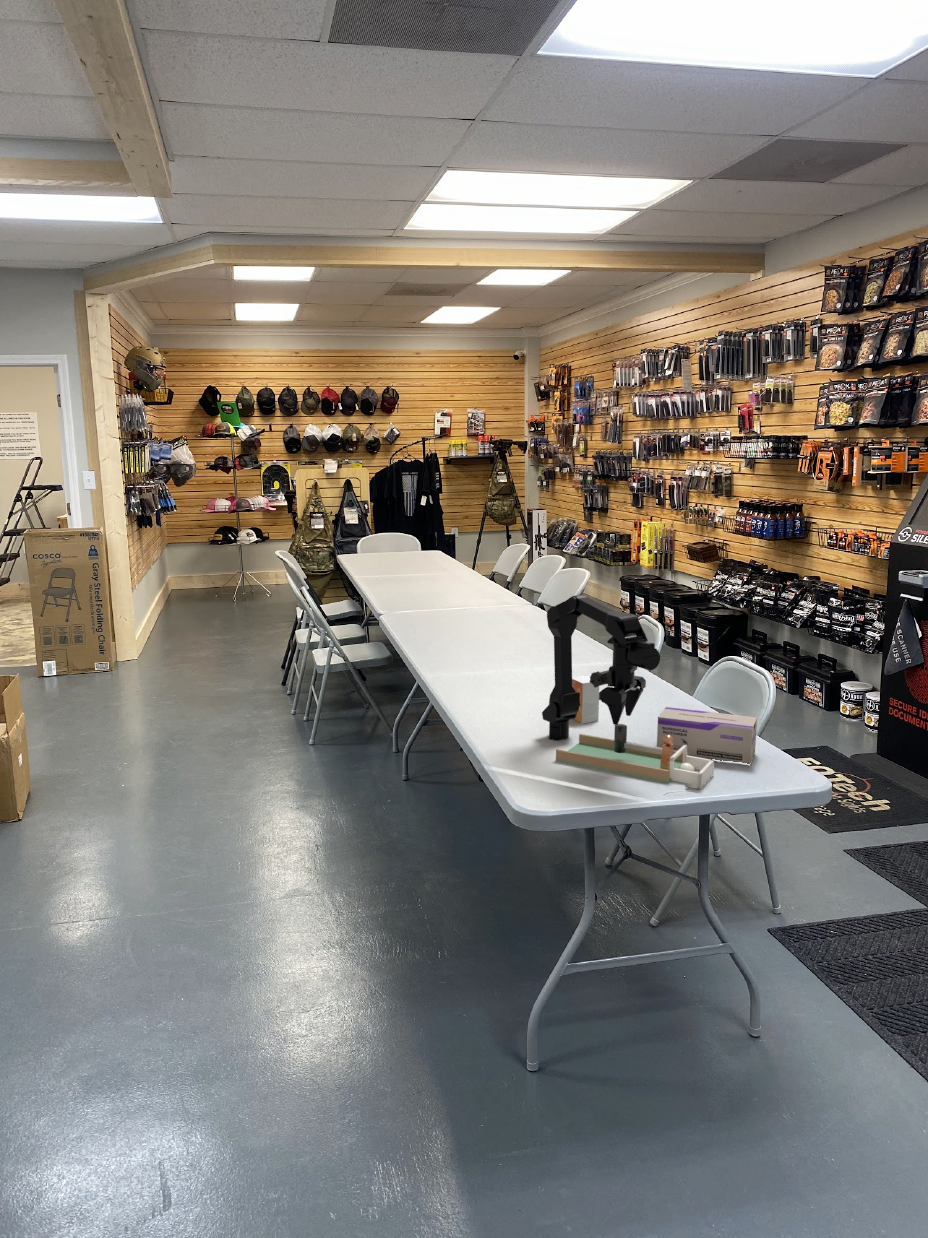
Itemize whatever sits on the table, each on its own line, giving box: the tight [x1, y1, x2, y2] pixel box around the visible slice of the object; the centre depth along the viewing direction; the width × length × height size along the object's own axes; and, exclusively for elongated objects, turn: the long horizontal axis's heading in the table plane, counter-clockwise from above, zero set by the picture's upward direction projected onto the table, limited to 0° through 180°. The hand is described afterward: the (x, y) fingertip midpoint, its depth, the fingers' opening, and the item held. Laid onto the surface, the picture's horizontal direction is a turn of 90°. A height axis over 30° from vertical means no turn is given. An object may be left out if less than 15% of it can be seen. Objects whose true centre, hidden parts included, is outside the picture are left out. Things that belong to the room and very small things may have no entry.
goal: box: [669, 745, 715, 790], centre depth 226 cm, size 12×8×7 cm
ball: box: [679, 763, 695, 772], centre depth 227 cm, size 4×4×4 cm
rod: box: [613, 723, 674, 770], centre depth 232 cm, size 5×16×9 cm, turn 59°
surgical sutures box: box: [656, 706, 758, 764], centre depth 245 cm, size 25×11×11 cm, turn 66°
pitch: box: [555, 733, 689, 784], centre depth 236 cm, size 16×31×4 cm, turn 59°
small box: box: [572, 674, 600, 724], centre depth 276 cm, size 8×6×13 cm
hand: (622, 720), depth 234 cm, fingers open, 9 cm apart
